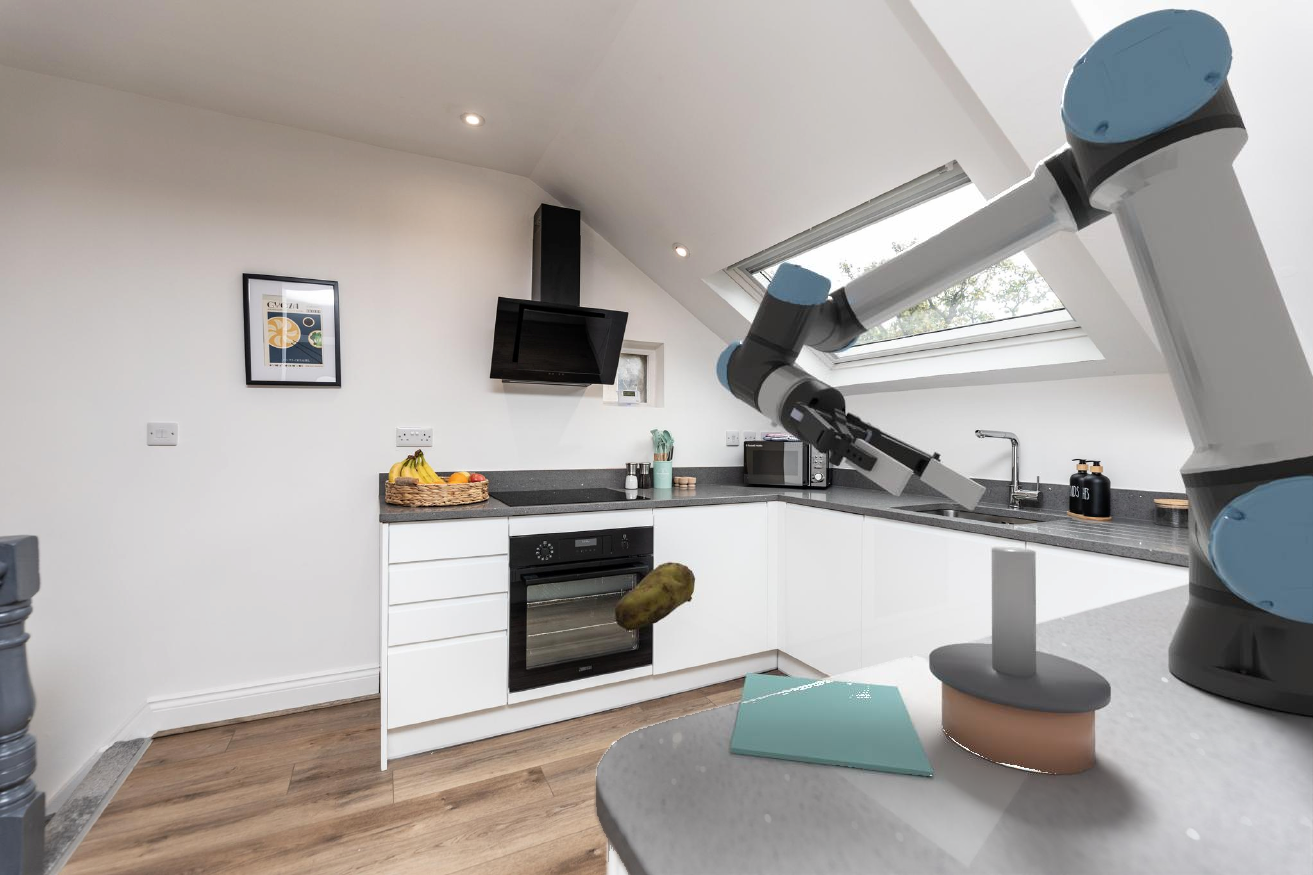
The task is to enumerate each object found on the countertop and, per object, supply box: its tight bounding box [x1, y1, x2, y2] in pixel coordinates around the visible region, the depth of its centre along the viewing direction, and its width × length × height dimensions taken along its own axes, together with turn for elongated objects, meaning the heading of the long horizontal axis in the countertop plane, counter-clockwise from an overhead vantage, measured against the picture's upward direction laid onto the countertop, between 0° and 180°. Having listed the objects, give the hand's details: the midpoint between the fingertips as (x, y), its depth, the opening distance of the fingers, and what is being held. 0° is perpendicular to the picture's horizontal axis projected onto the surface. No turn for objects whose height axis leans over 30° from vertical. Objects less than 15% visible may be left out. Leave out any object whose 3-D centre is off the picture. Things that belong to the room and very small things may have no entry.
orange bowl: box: [941, 682, 1096, 775], centre depth 50 cm, size 11×11×5 cm
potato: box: [614, 561, 696, 631], centre depth 82 cm, size 8×13×8 cm, turn 116°
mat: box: [730, 672, 934, 777], centre depth 53 cm, size 15×16×1 cm
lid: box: [928, 546, 1112, 713], centre depth 50 cm, size 13×13×11 cm
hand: (943, 492), depth 58 cm, fingers open, 13 cm apart
